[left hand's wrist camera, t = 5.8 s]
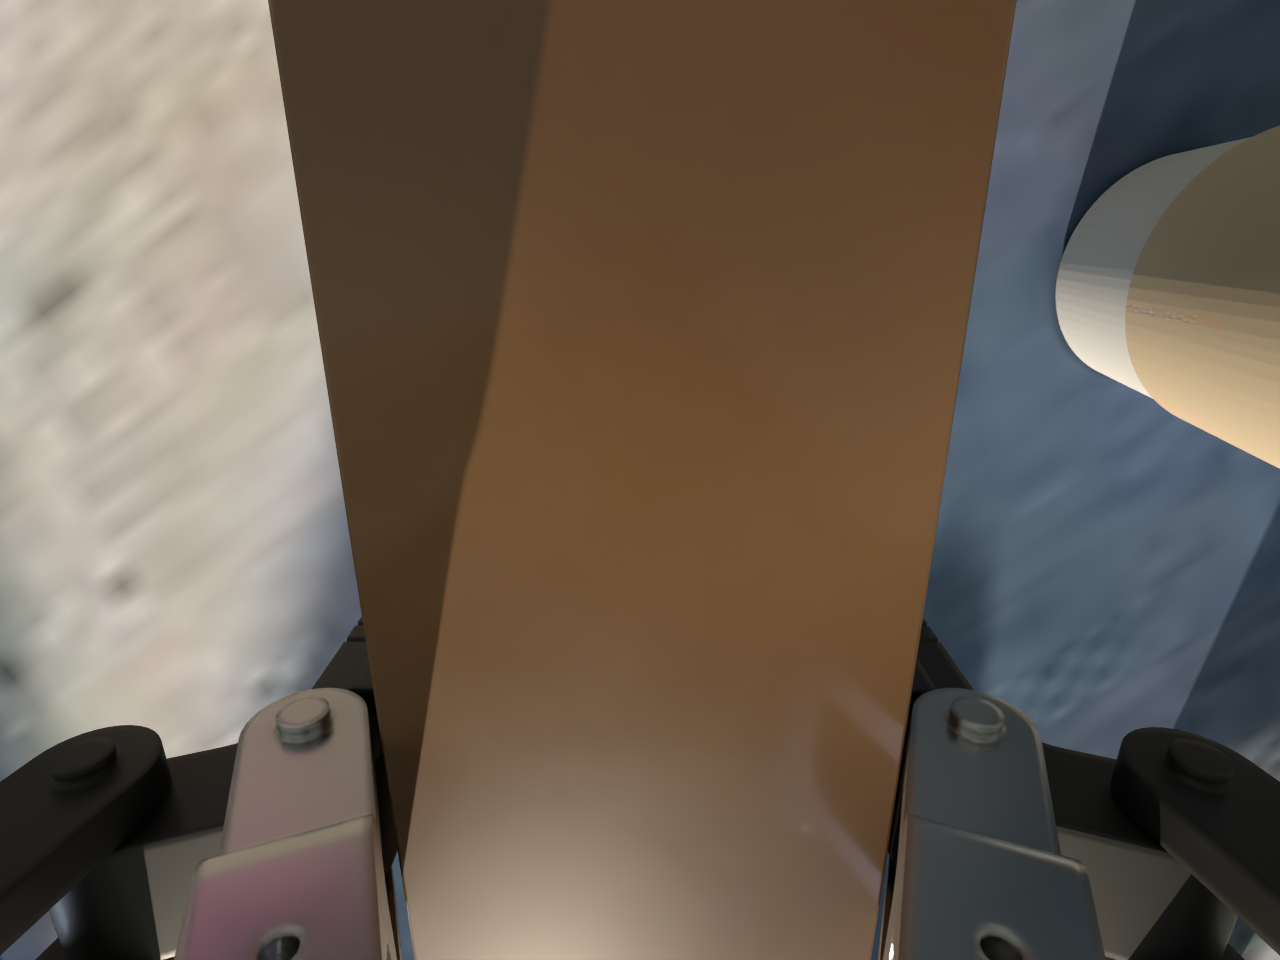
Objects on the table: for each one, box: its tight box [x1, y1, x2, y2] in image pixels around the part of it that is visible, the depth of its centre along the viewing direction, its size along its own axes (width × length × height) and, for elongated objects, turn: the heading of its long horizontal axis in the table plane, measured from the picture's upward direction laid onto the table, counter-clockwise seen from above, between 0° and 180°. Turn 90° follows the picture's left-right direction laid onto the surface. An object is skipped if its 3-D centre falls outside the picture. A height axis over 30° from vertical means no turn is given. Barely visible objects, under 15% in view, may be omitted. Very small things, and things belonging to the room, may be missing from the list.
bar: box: [268, 0, 1016, 960], centre depth 9 cm, size 22×5×8 cm, turn 0°
